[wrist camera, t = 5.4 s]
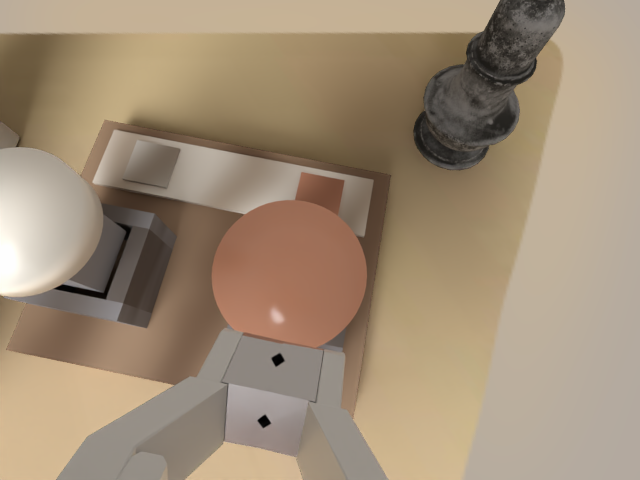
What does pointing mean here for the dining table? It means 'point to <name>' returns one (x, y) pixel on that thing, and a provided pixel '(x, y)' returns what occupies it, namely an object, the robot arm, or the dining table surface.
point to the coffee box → (7, 137)
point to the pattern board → (187, 252)
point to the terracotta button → (289, 273)
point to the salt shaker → (485, 85)
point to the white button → (51, 227)
